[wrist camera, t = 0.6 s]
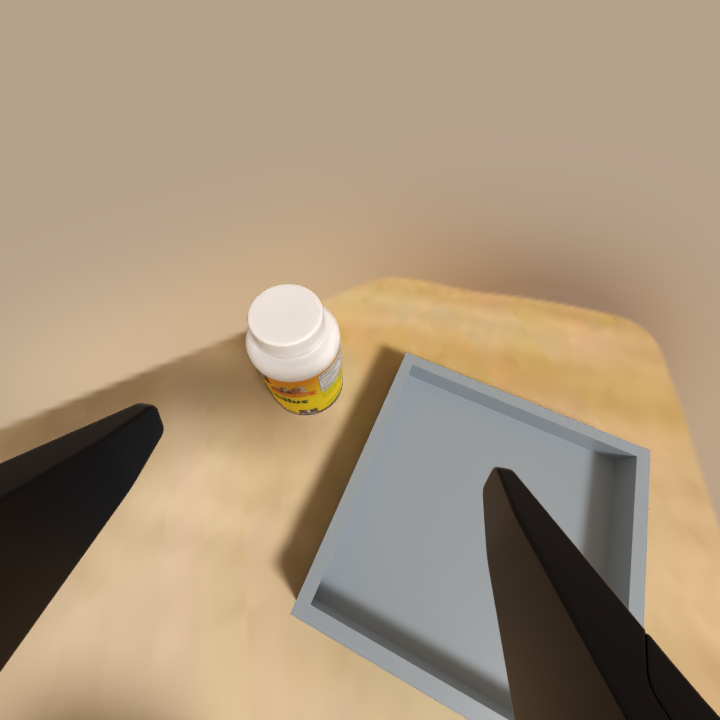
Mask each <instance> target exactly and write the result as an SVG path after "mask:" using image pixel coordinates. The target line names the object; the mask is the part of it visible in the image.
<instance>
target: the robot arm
mask: <svg viewBox="0 0 720 720" xmlns="http://www.w3.org/2000/svg"><path fill="white" fill-rule="evenodd" d="M162 434H163V424H162V421H161V418H160V415H159V412H158V409H157V408H156V407H155V406H154V405H149V404H143V403H139V404H135V405H133V406H131V407H129V408H126V409H124V410H122V411H119V412H117V413H115V414H113V415H110V416H108V417H106V418H103V419H101V420H99V421H97V422H94V423H92V424H90V425H87V426H85V427H83V428H81V429H78V430H76V431H74V432H71V433H69V434H67V435H65V436H62V437H60V438H58V439H55V440H53V441H51V442H49V443H46V444H44V445H42V446H39V447H37V448H35V449H33V450H30V451H28V452H26V453H23V454H21V455H19V456H16V457H14V458H12V459H10V460H7V461H5V462H3V463H0V672H1V670H2V669H3V667H4V666H5V665H6V663H7V662H8V660H9V659H10V658H11V656H12V655H13V653H14V652H15V651H16V649H17V648H18V646H19V645H20V644H21V642H22V641H23V639H24V638H25V637H26V635H27V634H28V632H29V631H30V629H31V628H32V627H33V625H34V624H35V622H36V621H37V620H38V618H39V617H40V615H41V614H42V613H43V611H44V610H45V608H46V607H47V606H48V604H49V603H50V601H51V600H52V599H53V597H54V596H55V594H56V593H57V592H58V590H59V589H60V587H61V586H62V585H63V583H64V582H65V580H66V579H67V578H68V576H69V575H70V573H71V572H72V571H73V569H74V568H75V566H76V565H77V564H78V562H79V561H80V559H81V558H82V557H83V555H84V554H85V552H86V551H87V550H88V548H89V547H90V545H91V544H92V543H93V541H94V540H95V538H96V537H97V535H98V534H99V533H100V531H101V530H102V528H103V527H104V526H105V524H106V523H107V521H108V520H109V519H110V517H111V516H112V514H113V513H114V512H115V510H116V509H117V507H118V506H119V505H120V503H121V502H122V500H123V499H124V498H125V496H126V495H127V493H128V492H129V490H130V489H131V487H132V486H133V484H134V483H135V481H136V479H137V478H138V476H139V474H140V473H141V471H142V469H143V467H144V466H145V464H146V462H147V460H148V459H149V457H150V455H151V454H152V452H153V450H154V448H155V447H156V445H157V443H158V441H159V440H160V438H161V436H162ZM483 509H484V524H485V540H486V553H487V561H488V568H489V574H490V579H491V585H492V591H493V597H494V603H495V608H496V614H497V620H498V626H499V632H500V637H501V643H502V649H503V655H504V661H505V666H506V672H507V678H508V684H509V690H510V695H511V701H512V707H513V713H514V719H515V720H720V717H719V716H718V715H717V714H716V712H715V711H714V710H713V709H712V708H711V707H710V706H709V705H708V703H707V702H706V701H705V700H704V699H703V698H702V697H701V695H700V694H699V693H698V692H697V691H696V690H695V688H694V687H693V686H692V685H691V684H690V683H689V681H688V680H687V679H686V678H685V677H684V676H683V674H682V673H681V672H680V671H679V670H678V668H677V667H676V666H675V665H674V664H673V663H672V661H671V660H670V659H669V658H668V657H667V655H666V654H665V653H664V652H663V651H662V649H661V648H660V647H659V646H658V645H657V643H656V642H655V641H654V640H653V639H652V637H651V636H650V635H649V634H645V629H644V628H643V627H642V626H641V624H640V623H639V622H638V621H637V619H636V618H635V617H634V616H633V615H632V613H631V612H630V611H629V610H628V609H627V607H626V606H625V605H624V604H623V603H622V601H621V600H620V599H619V598H618V597H617V595H616V594H615V593H614V592H613V591H612V589H611V588H610V587H609V586H608V584H607V583H606V582H605V581H604V580H603V578H602V577H601V576H600V575H599V574H598V572H597V571H596V570H595V569H594V568H593V566H592V565H591V564H590V563H589V562H588V560H587V559H586V558H585V557H584V556H583V554H582V553H581V552H580V551H579V549H578V548H577V547H576V546H575V545H574V543H573V542H572V541H571V540H570V539H569V537H568V536H567V535H566V534H565V533H564V531H563V530H562V529H561V528H560V527H559V525H558V524H557V523H556V522H555V521H554V519H553V518H552V517H551V516H550V514H549V513H548V512H547V511H546V510H545V508H544V507H543V506H542V505H541V504H540V502H539V501H538V500H537V499H536V498H535V496H534V495H533V494H532V493H531V492H530V490H529V489H528V488H527V487H526V486H525V484H524V483H523V482H522V481H521V479H520V478H519V477H518V476H517V475H516V473H515V472H514V471H512V470H511V469H508V468H502V467H494V468H493V469H492V471H491V473H490V475H489V477H488V479H487V481H486V482H485V484H484V487H483Z"/></svg>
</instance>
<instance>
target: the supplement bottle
mask: <svg viewBox="0 0 720 720" xmlns="http://www.w3.org/2000/svg"><path fill="white" fill-rule="evenodd" d="M247 320H248V326H249V327H248V330H247V333H246V350H247V353H248V356H249V358H250V360H251V362H252V364H253V365H254V367H255V368H256V370H257V371H258V373H259V374H260V376H261V377H262V379H263V380H264V382H265V383H266V385H267V387H268V388H269V390H270V391H271V393H272V394H273V396H274V397H275V399H276V400H277V402H278V403H279V404H280V405H281V406H282V407H283V408H284V409H285V410H287V411H288V412H290V413H293V414H296V415H300V416H312V415H317V414H320V413H322V412H324V411H326V410H327V409H329V408H330V407H331V406H332V405H333V404H334V403H335V402H336V400H337V399H338V397H339V395H340V393H341V390H342V385H343V375H342V358H341V341H340V332H339V327H338V324H337V322H336V320H335V318H334V316H333V315H332V314H331V312H330V311H329V310H328V309H327V308H325V307H324V306H322V304H321V302H320V300H319V299H318V297H317V296H316V295H315V294H314V293H313V292H312V291H310V290H309V289H307V288H304V287H303V286H299V285H294V284H283V285H277V286H274V287H271V288H269V289H267V290H265V291H263V292H262V293H261V294H259V295H258V296H257V297H256V298H255V299H254V301H253V302H252V303H251V305H250V307H249V310H248V316H247Z"/></svg>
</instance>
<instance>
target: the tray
mask: <svg viewBox="0 0 720 720" xmlns="http://www.w3.org/2000/svg"><path fill="white" fill-rule="evenodd" d="M494 467H502V468H508V469H511V470H512V471H514V472H515V473H516V475H517V476H518V477H519V478H520V479H521V481H522V482H523V483H524V484H525V486H526V487H527V488H528V489H529V490H530V492H531V493H532V494H533V495H534V496H535V498H536V499H537V500H538V501H539V502H540V504H541V505H542V506H543V507H544V508H545V510H546V511H547V512H548V513H549V514H550V516H551V517H552V518H553V519H554V521H555V522H556V523H557V524H558V525H559V527H560V528H561V529H562V530H563V531H564V533H565V534H566V535H567V536H568V537H569V539H570V540H571V541H572V542H573V543H574V545H575V546H576V547H577V548H578V549H579V551H580V552H581V553H582V554H583V556H584V557H585V558H586V559H587V560H588V562H589V563H590V564H591V565H592V566H593V568H594V569H595V570H596V571H597V572H598V574H599V575H600V576H601V577H602V578H603V580H604V581H605V582H606V583H607V584H608V586H609V587H610V588H611V589H612V591H613V592H614V593H615V594H616V595H617V597H618V598H619V599H620V600H621V601H622V603H623V604H624V605H625V606H626V607H627V609H628V610H629V611H630V612H631V613H632V615H633V616H634V617H635V618H636V619H637V621H638V622H639V623H640V624H641V626H642V627H643V628H644V607H645V579H646V552H647V524H648V497H649V469H650V450H648V449H646V448H643V447H641V446H638V445H636V444H633V443H631V442H628V441H626V440H623V439H621V438H618V437H616V436H613V435H611V434H608V433H606V432H603V431H601V430H598V429H596V428H593V427H591V426H588V425H586V424H583V423H581V422H578V421H576V420H573V419H571V418H568V417H566V416H563V415H561V414H558V413H556V412H554V411H551V410H549V409H546V408H544V407H541V406H539V405H536V404H534V403H531V402H529V401H526V400H524V399H521V398H519V397H516V396H514V395H511V394H509V393H506V392H504V391H501V390H499V389H496V388H494V387H491V386H489V385H486V384H484V383H481V382H479V381H476V380H474V379H471V378H469V377H466V376H464V375H461V374H459V373H456V372H454V371H451V370H449V369H447V368H444V367H442V366H439V365H437V364H434V363H432V362H429V361H427V360H424V359H422V358H419V357H417V356H414V355H412V354H409V353H407V352H406V354H405V356H404V359H403V361H402V363H401V365H400V368H399V370H398V372H397V374H396V377H395V379H394V381H393V383H392V386H391V388H390V390H389V392H388V395H387V397H386V399H385V401H384V404H383V406H382V408H381V410H380V413H379V415H378V417H377V419H376V422H375V424H374V426H373V428H372V431H371V433H370V435H369V437H368V440H367V442H366V444H365V446H364V449H363V451H362V453H361V455H360V458H359V460H358V462H357V464H356V467H355V469H354V471H353V474H352V476H351V478H350V480H349V483H348V485H347V487H346V489H345V492H344V494H343V496H342V498H341V501H340V503H339V505H338V507H337V510H336V512H335V514H334V516H333V519H332V521H331V523H330V525H329V528H328V530H327V532H326V534H325V537H324V539H323V541H322V543H321V546H320V548H319V550H318V552H317V555H316V557H315V559H314V561H313V564H312V566H311V568H310V570H309V573H308V575H307V577H306V579H305V582H304V584H303V586H302V588H301V591H300V593H299V595H298V597H297V600H296V602H295V604H294V606H293V609H292V611H291V613H290V614H291V615H293V616H294V617H296V618H298V619H300V620H301V621H303V622H305V623H306V624H308V625H310V626H311V627H313V628H315V629H316V630H318V631H320V632H321V633H323V634H325V635H326V636H328V637H330V638H332V639H333V640H335V641H337V642H338V643H340V644H342V645H343V646H345V647H347V648H348V649H350V650H352V651H353V652H355V653H357V654H358V655H360V656H362V657H364V658H365V659H367V660H369V661H370V662H372V663H374V664H375V665H377V666H379V667H380V668H382V669H384V670H385V671H387V672H389V673H390V674H392V675H394V676H396V677H397V678H399V679H401V680H402V681H404V682H406V683H407V684H409V685H411V686H412V687H414V688H416V689H417V690H419V691H421V692H422V693H424V694H426V695H428V696H429V697H431V698H433V699H434V700H436V701H438V702H439V703H441V704H443V705H444V706H446V707H448V708H449V709H451V710H453V711H454V712H456V713H458V714H460V715H461V716H463V717H465V718H466V719H468V720H515V719H514V713H513V707H512V701H511V695H510V690H509V684H508V678H507V672H506V666H505V661H504V655H503V649H502V643H501V637H500V632H499V626H498V620H497V614H496V608H495V603H494V597H493V591H492V585H491V579H490V574H489V568H488V561H487V553H486V540H485V524H484V509H483V487H484V484H485V482H486V481H487V479H488V477H489V475H490V473H491V471H492V469H493V468H494Z"/></svg>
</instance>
